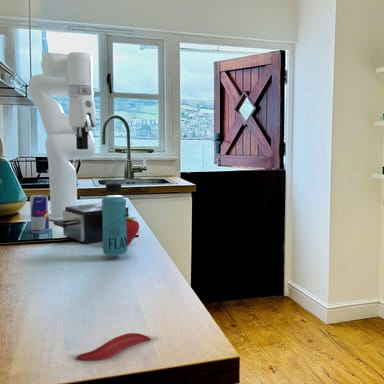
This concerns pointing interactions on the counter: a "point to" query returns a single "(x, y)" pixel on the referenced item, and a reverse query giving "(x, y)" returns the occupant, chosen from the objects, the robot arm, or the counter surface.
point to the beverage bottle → (114, 221)
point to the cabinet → (91, 221)
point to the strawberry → (131, 228)
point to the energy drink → (39, 214)
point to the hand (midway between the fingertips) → (82, 149)
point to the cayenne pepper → (114, 346)
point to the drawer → (72, 225)
